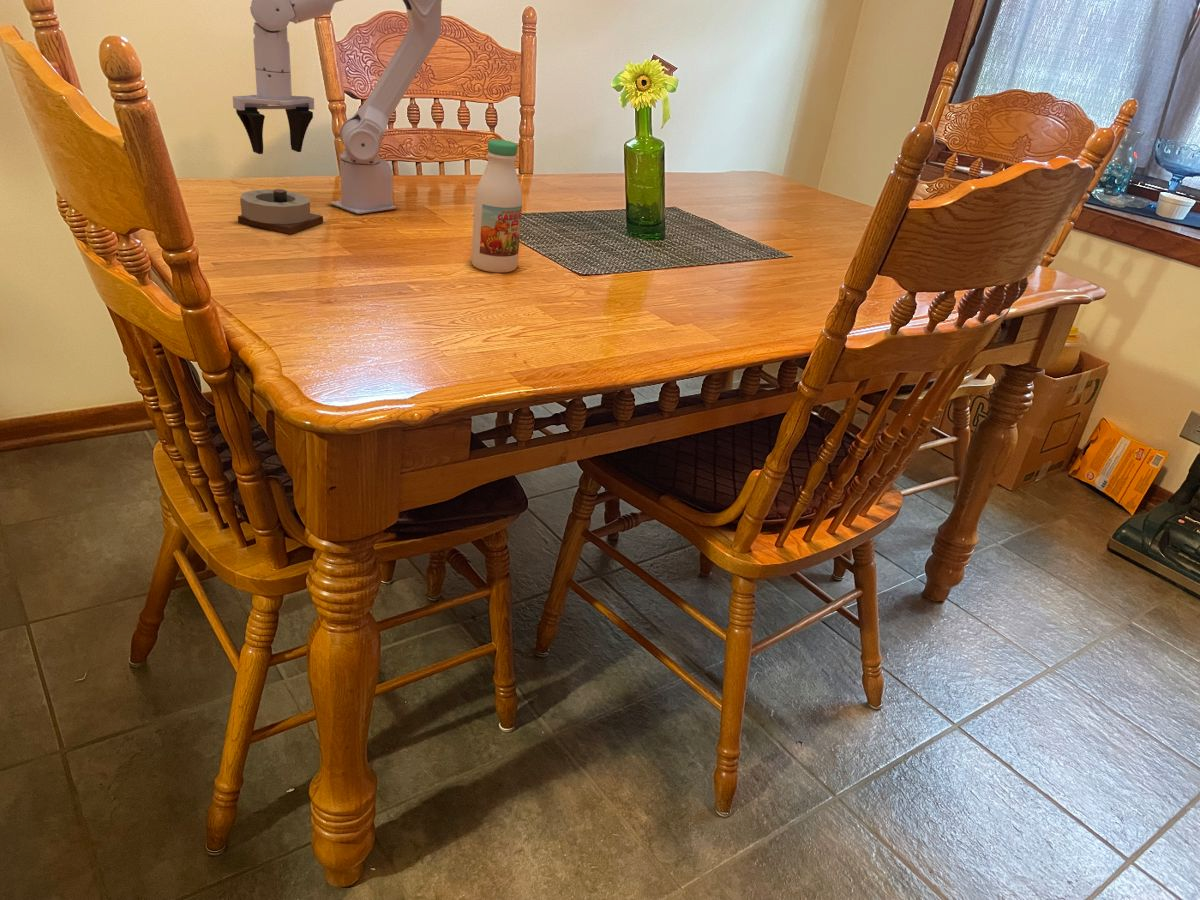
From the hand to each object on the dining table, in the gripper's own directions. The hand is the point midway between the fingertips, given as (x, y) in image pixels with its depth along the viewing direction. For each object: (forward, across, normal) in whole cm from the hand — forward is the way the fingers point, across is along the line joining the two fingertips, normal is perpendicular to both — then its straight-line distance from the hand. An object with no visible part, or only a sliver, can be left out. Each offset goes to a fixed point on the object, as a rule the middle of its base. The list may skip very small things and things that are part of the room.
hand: (277, 151), depth 149 cm
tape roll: (+8, -7, -10) cm, 14 cm away
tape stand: (+9, -6, -10) cm, 15 cm away
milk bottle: (+10, +11, -45) cm, 48 cm away
